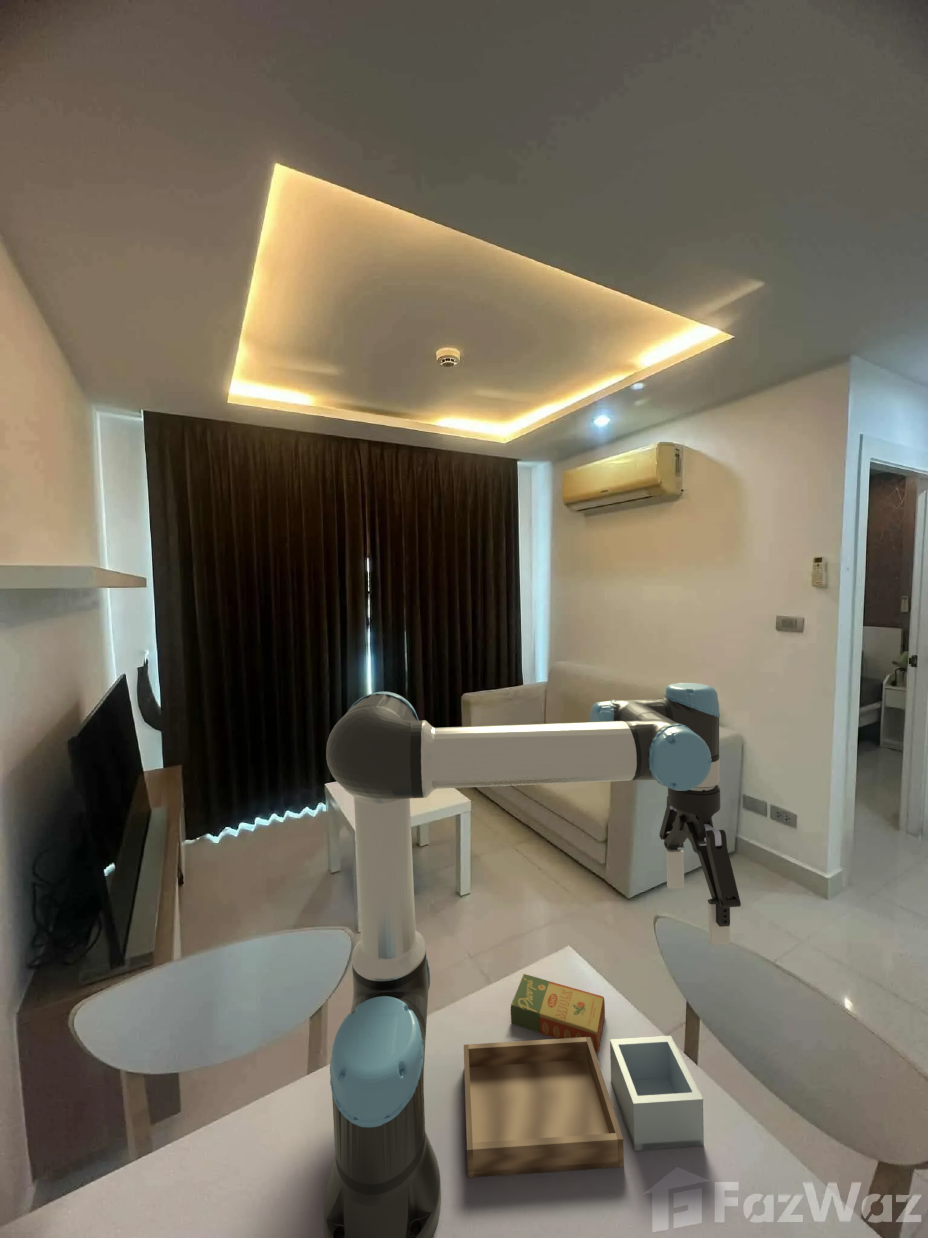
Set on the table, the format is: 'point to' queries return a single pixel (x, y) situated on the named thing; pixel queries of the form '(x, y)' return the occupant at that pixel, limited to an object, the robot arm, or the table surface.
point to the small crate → (656, 1094)
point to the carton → (558, 1010)
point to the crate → (538, 1108)
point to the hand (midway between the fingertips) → (695, 913)
